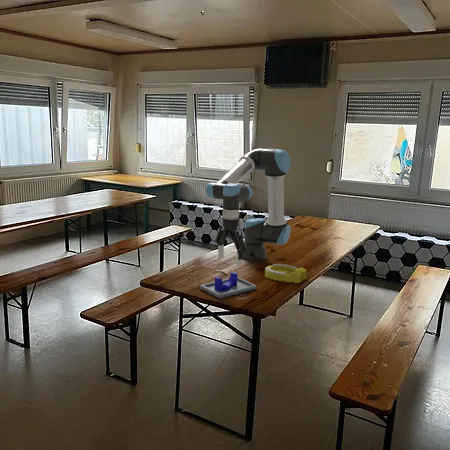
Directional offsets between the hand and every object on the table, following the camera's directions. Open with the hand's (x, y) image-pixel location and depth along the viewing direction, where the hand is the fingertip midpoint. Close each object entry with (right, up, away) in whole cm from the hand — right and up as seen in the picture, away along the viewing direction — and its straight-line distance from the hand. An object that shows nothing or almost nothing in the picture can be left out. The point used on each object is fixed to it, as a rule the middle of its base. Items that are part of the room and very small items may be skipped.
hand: (229, 262), depth 213 cm
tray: (-1, -13, +3) cm, 13 cm away
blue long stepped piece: (-1, -12, +2) cm, 13 cm away
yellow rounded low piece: (+29, -10, +23) cm, 38 cm away
